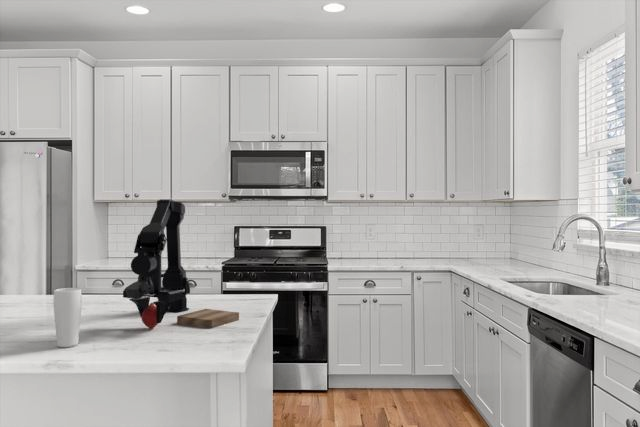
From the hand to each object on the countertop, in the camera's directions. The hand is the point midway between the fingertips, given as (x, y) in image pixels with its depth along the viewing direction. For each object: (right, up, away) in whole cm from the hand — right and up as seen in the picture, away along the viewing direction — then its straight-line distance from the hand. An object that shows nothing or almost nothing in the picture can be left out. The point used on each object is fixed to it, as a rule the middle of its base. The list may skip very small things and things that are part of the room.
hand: (151, 322), depth 157 cm
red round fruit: (0, -2, 0) cm, 2 cm away
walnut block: (+15, -3, +10) cm, 19 cm away
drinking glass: (-16, -2, -20) cm, 26 cm away
